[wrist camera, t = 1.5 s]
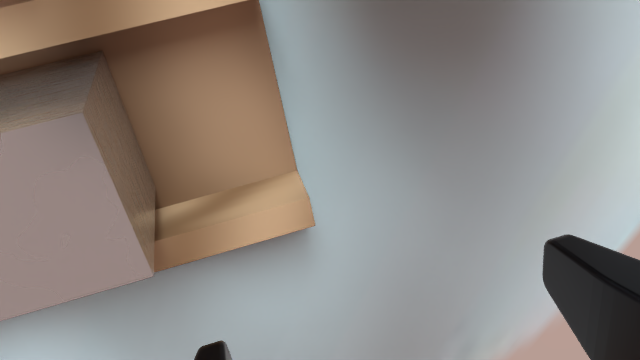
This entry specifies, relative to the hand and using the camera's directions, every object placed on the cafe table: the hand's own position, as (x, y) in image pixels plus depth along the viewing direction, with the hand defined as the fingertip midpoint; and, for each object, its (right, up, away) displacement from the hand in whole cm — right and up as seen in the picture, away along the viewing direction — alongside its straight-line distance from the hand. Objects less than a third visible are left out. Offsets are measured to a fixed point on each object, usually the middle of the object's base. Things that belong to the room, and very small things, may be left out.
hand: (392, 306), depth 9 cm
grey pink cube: (-10, +3, +9) cm, 13 cm away
